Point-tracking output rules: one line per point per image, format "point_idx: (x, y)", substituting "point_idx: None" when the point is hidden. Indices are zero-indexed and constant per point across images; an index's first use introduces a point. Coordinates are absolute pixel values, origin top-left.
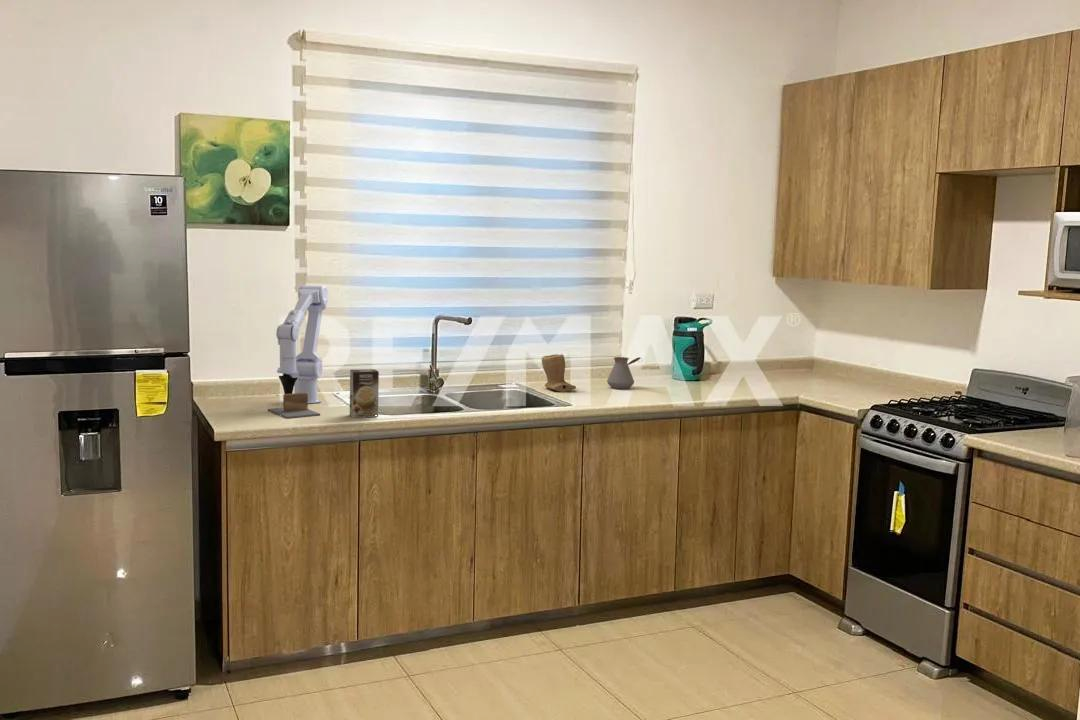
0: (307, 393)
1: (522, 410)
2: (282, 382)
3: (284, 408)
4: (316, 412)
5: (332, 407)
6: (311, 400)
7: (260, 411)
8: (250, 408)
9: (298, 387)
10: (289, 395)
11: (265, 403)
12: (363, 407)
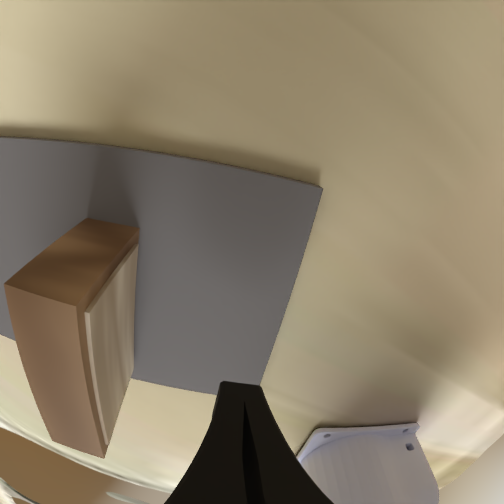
0: (52, 440)
1: (6, 500)
2: (280, 501)
3: (109, 232)
4: (12, 338)
5: (154, 456)
6: (303, 465)
7: (325, 116)
8: (464, 153)
9: (383, 491)
10: (14, 317)
11: (486, 313)
12: None
